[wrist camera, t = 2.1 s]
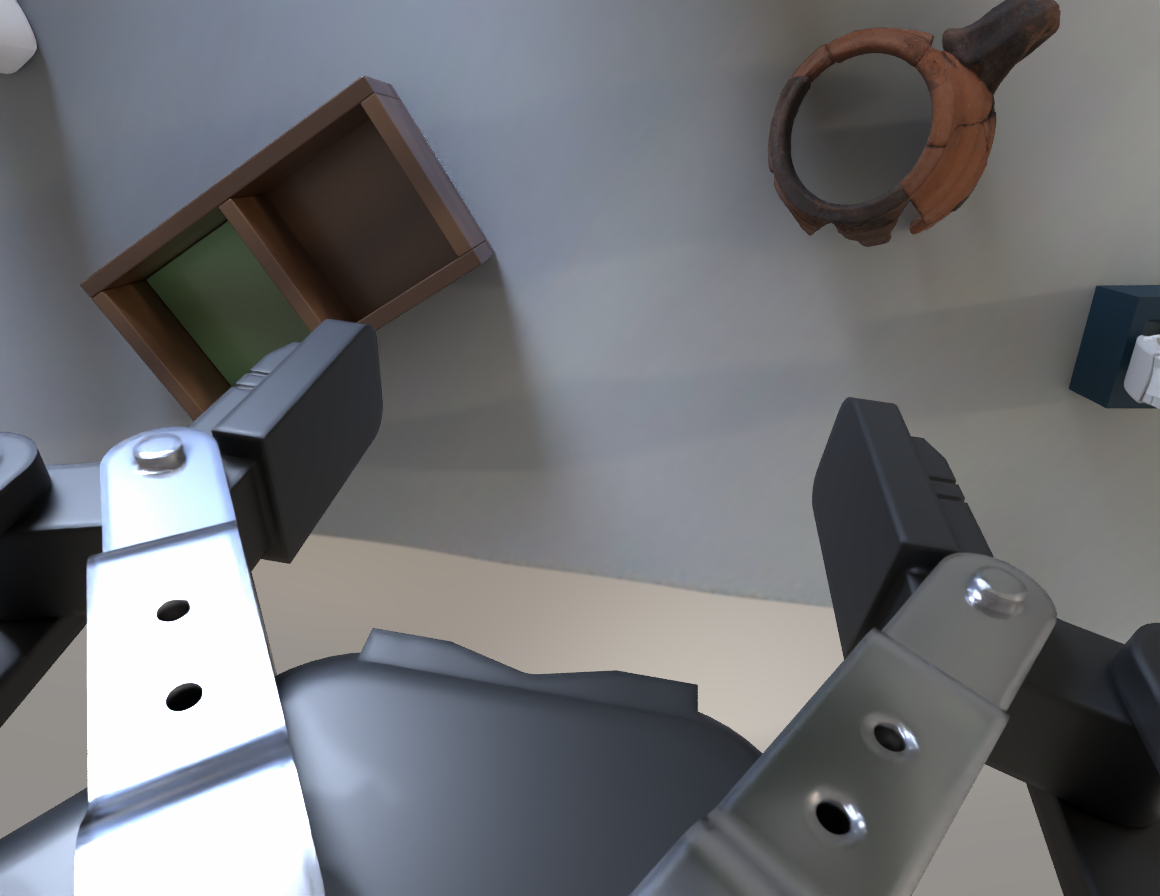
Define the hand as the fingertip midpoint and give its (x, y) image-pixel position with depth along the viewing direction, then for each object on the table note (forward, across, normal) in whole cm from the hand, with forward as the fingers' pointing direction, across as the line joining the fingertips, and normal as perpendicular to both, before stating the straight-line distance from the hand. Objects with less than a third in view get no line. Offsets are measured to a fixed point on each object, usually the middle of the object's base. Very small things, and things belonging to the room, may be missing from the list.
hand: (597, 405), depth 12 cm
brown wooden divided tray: (+23, +17, +8) cm, 30 cm away
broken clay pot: (+28, -10, -1) cm, 29 cm away
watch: (+27, -26, +8) cm, 38 cm away
